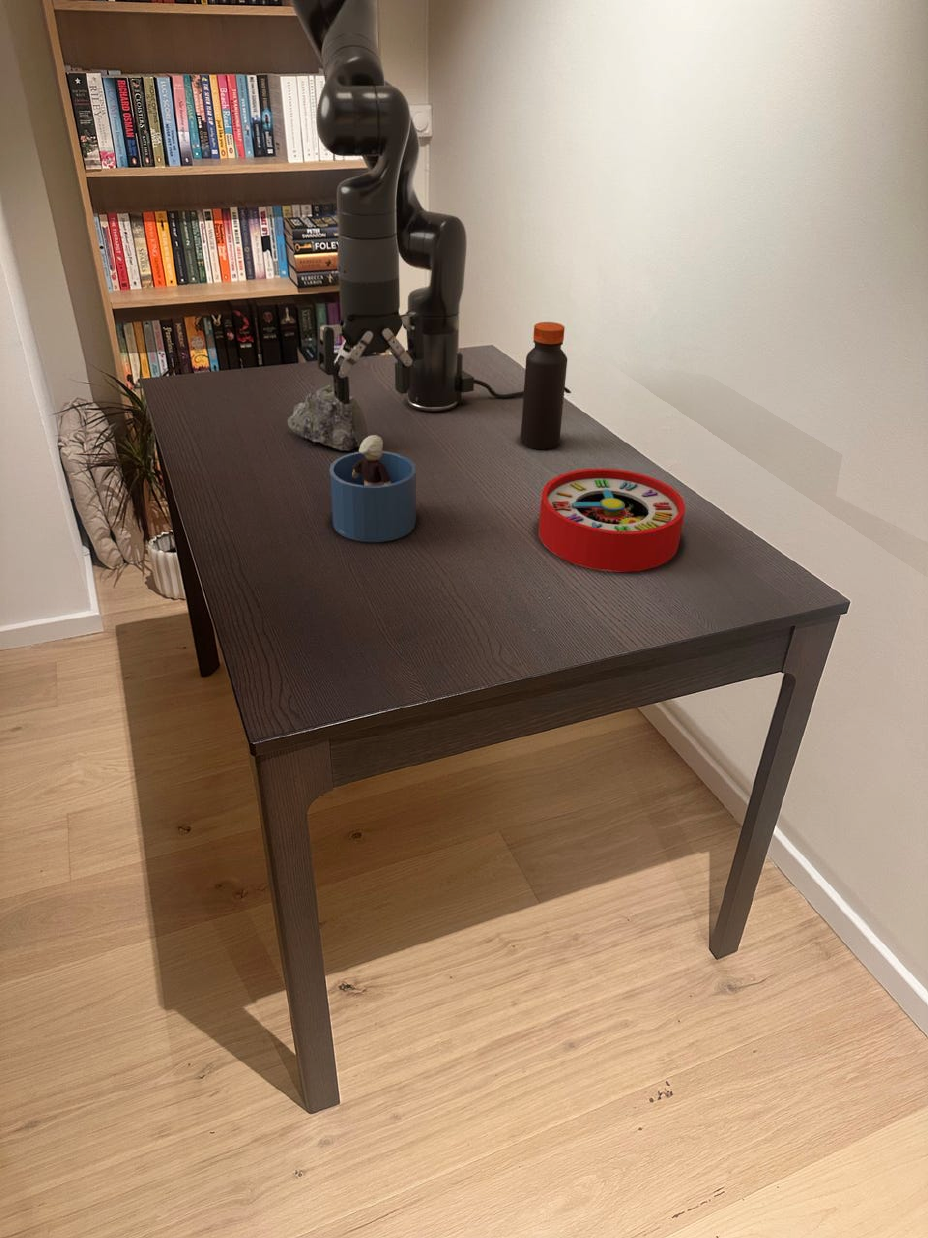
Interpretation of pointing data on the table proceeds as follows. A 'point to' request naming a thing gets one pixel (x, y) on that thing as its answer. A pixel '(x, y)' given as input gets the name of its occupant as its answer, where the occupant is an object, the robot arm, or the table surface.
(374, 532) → the bowl
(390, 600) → the table surface
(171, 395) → the table surface
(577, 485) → the toy clock
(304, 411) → the mineral rock
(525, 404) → the bottle
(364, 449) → the grandmother figurine
